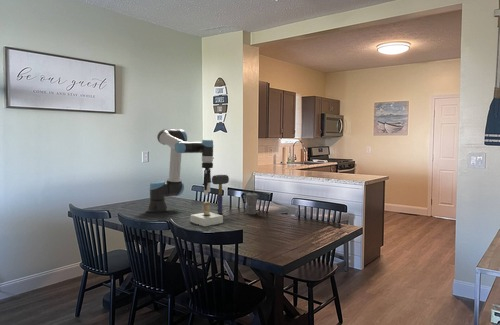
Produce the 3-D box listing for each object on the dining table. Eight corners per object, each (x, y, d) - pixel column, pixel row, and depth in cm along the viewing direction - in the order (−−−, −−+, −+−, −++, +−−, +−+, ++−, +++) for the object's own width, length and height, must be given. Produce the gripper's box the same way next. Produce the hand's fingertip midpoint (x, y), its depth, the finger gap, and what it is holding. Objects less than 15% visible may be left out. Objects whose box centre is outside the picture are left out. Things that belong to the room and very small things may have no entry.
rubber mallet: (215, 214, 282) (216, 175, 280) (210, 213, 288) (211, 174, 285) (229, 212, 290) (229, 174, 287) (223, 211, 295) (224, 173, 293)
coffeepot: (261, 213, 291) (261, 190, 290) (256, 215, 283) (256, 192, 281) (243, 211, 298) (243, 188, 296) (238, 213, 289) (238, 190, 288)
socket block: (190, 221, 257) (190, 214, 256) (208, 218, 268) (209, 211, 267) (204, 226, 245) (204, 218, 245) (222, 222, 256) (223, 215, 256)
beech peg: (202, 222, 256) (202, 202, 255) (207, 221, 259) (207, 201, 258) (206, 223, 253) (206, 203, 252) (211, 222, 256) (211, 202, 255)
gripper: (210, 163, 241) (210, 196, 243) (215, 161, 265) (214, 190, 267) (199, 163, 241) (198, 196, 243) (204, 160, 265) (204, 190, 267)
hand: (207, 193), depth 255 cm, fingers open, 12 cm apart
